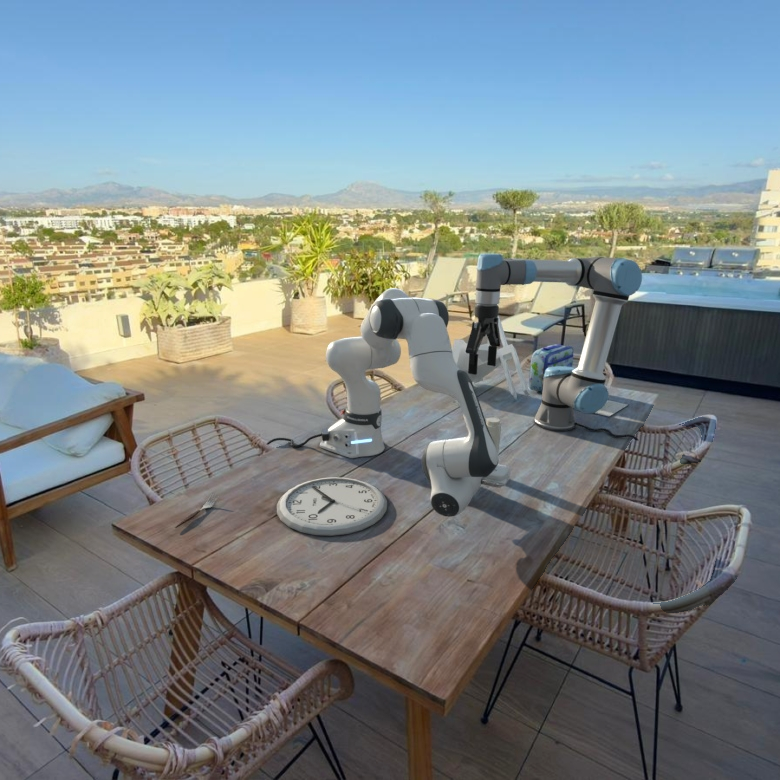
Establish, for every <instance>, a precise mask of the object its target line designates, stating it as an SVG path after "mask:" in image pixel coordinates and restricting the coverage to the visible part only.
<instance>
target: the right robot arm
mask: <svg viewBox="0 0 780 780" xmlns="http://www.w3.org/2000/svg"><path fill="white" fill-rule="evenodd" d="M642 281H643V272H642V269H641V268H640V266H639V264H638V262H636V261H634V260H633V259H628V258H624V257H608V256H607V257H606V256H591V257H573V258H570V259H569V260H560V259H559V260H557V259H535V258H534V259H532V258H530V259H529V258H507V257H504V256H503V255H502V254H501V253H480V254H479V255H478V258H477V265H476V282H475V285H476V286H475V293H474V297H475V300H474V302H475V305H474V309H473V310H474V312H473V315H474V317H476V318H477V321H472V324H471V330H470V333H469V337H468V341H467V343H466V344H467V348H466V353H468V354H469V367H468V373H469V374H474V375H476V374H477V365H478V354H477V352H478V349H479V347H480V345H482V343H483V339H484V338H485V337H487V340H488V344H489V345H490V346H489V348H488V362H487V365H490V366H496V354H497V350H498V348H499V347H500V348H501V344H502V341H501V338H500V333H499V326H498V318H497V317H498V316H499V312H500V311H499V310H500V306H499V304H500V301H501V300H500V299H501V286H504V285H506V286H509V285H511V286H512V285H513V286H514V285H517V286H519V285H521V286H524V285H530V284H532V283H565V284H566V285H568V286H573V287H581V288H585V289H589V290H592V291H593V292H592V297H593V298H594V300H595V302H594V306H593V309H592V312H591V317H590V321H589V324H588V328H587V331H586V336H585V339H584V341H583V347H582V350H581V354H580V357H579V361H578V365H577V367H573V366H572V367H565V366H556V367H549V368H547V369H546V370H545V374H544V381H543V391H542V392H541V393H542V394H541V402H540V405H539V407H538V410H537V411H536V413H535V416H534V424H535V425H536V426H537V427H539V428H542V429H544V430H549V431H556V432H567V431H572V430H574V429H575V428H576V426H578V427H580V428H583V429H584V430H588V431H590V432H606V433H608V435H610V436H611V437H614V438H617V439H618V438H620V439H621V438H632V439H633V440H635V441H637V442H639V438H638V437H637V436H635V435H633V434H629V433H625V434H615V433H612V430H610V429H608V428H603V427H600V428H599V427H598V428H592V427H589V426H586V425H584V424H582V423H579V422H576V418H575V417H576V416H575V413H574V409H575V410H576V411H577V412H580V413H584V414H587V415H590V414H596V413H595V412H597V411H598V410H599V409H601V408H602V407H603V406H604V405H605V404H606V402H607V400H609V396H610V395H609V394H610V393H609V391H608V388H607V387H606V385H605V384H606V379H607V378H606V375H605V374H604V369H605V366H606V363H607V359H608V356H609V353H610V348H611V345H612V342H613V338H614V334H615V332H616V327H617V324H618V321H619V318H620V317H619V316H620V314H621V310H622V306H623V305H624V304H626V303H628V302H629V299H630V296H632V295H634V294H636V292H637V291H638V290H639V289H640V287H641V285H642Z"/></svg>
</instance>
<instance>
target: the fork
mask: <svg viewBox="0 0 780 780" xmlns="http://www.w3.org/2000/svg"><path fill="white" fill-rule="evenodd" d="M219 496H220V494H218V493H213V492H212V493H211V494H210V497H208V500H207V501H206V502H205V503H204V504H203V505H202V507H201V508H200V509H198V510H196V511H194V512H193V513H191V514H189V515H188V516H187V517H185V518H184V519H183V520H182V521H181V522H179V523H178V524H177V525H175V527H174V528H175V529H177V528H179V527H180V526H182V525H184V524H185V523H187V522H189V521H190V520H192V519H194V517H196V516H197V515H198V514H199V513H201V511H203V510H204V509H210V508H212V507H213V506H214V505H215V504H216V502H217V500H218V498H219Z"/></svg>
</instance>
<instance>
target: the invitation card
mask: <svg viewBox="0 0 780 780" xmlns="http://www.w3.org/2000/svg"><path fill="white" fill-rule="evenodd" d="M628 406H629V404H627V403H623V402H618V401H614V400H609V399H608V400H607V402H606V404H605V405H604V406H603V407H602V408H601V409H599V410H598V411H597V412H595V413H594V414H596V415H600V416H604V417H608V418H609V417H611V416H613V415H614V414H616V413H617V412H619V411H621V410H623V409H624V408H626V407H628Z"/></svg>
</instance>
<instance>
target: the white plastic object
mask: <svg viewBox="0 0 780 780" xmlns="http://www.w3.org/2000/svg"><path fill="white" fill-rule="evenodd" d="M497 318H498V326H499V333H500V340H501V345H502V347H500V348H497V354H496V366H490V365H487V362H488V348H489V346H491V345H490V343H489V342H487V343H483V344H480V347H479V349H478V352H477V354H478V365H477V374H476V375H474V374H469V373H468V367H469V354H468V353H466V348H467V344H468V343H466V342H465V340H464V339H463V338H460V339H458V338H454V340H453V344H452V353H453V358H454V361H455V363H456V365H457V366H458V368H459V369H460V370H462V371H465V372H466V373H467V374H468V376H469V377H470V379H471V381H472V383H473V384H477V383H480V382H482V381H484V378H485V377H486V376H487V375H489V374H490V373H492V372H494V371H495V370H496V369H497V368H499V367H500V366H502V370H503V373H504V376H505V380H506V383H507V386H508V390H509V393H510V394H511V395H512V397H513V398H514V399H515V400H517V392H516V391H517V390H516V388H515V385H514V381H513V378H512V375H511V371H510V369H509V365H508V361H510V360H513V363H514V366H515V369H516V372H517V376H518V380H519V382H520V385H521V389H522V391H523V393H524V395H525V396H526V397H528V396H531V395H530V389H529V388H528V387H529V386H528V384H527V381H526V378H525V375H524V371H523V369H522V368H523V367H522V366H521V362H520V359H519V355H518V352H517V349H516V347H515V346H514V345H513V343H511V344H508V341H507V337H506V334H505V331H504V328H503V325H502V321H501V318H500V315H498V317H497Z"/></svg>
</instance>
